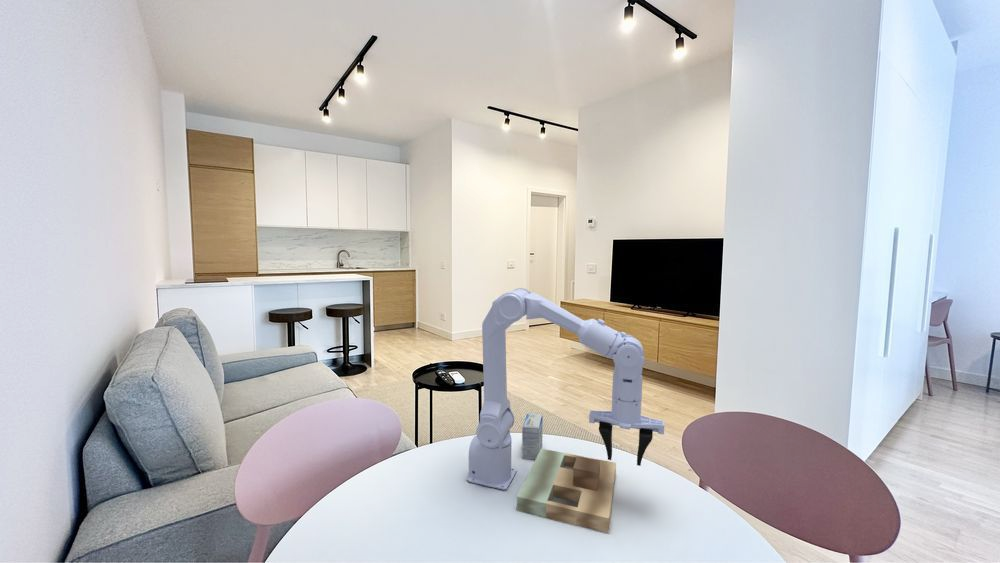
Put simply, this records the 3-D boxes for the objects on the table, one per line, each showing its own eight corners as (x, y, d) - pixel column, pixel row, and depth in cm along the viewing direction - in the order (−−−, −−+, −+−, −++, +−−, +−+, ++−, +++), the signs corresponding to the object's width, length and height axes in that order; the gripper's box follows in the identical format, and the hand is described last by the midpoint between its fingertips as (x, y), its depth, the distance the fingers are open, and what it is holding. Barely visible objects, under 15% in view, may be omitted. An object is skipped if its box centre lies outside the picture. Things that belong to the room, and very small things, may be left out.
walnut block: (572, 485, 82) (573, 467, 82) (576, 473, 87) (577, 456, 87) (597, 491, 81) (597, 472, 80) (599, 477, 85) (600, 460, 85)
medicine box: (539, 461, 97) (540, 427, 97) (521, 459, 98) (522, 426, 97) (542, 445, 105) (543, 414, 104) (526, 443, 106) (526, 412, 105)
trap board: (516, 510, 79) (516, 496, 79) (540, 459, 98) (541, 448, 98) (608, 533, 73) (609, 518, 73) (615, 474, 92) (616, 462, 91)
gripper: (587, 398, 78) (585, 463, 79) (666, 409, 73) (663, 478, 75) (592, 386, 85) (590, 446, 86) (664, 396, 80) (661, 459, 81)
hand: (624, 460), depth 81 cm, fingers open, 5 cm apart
